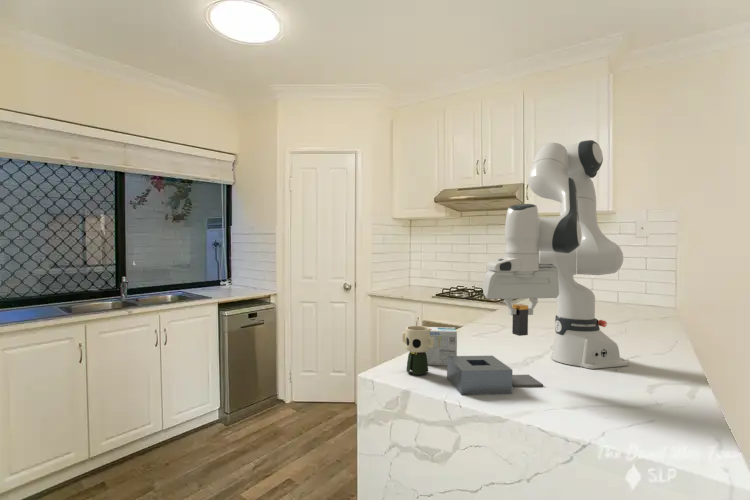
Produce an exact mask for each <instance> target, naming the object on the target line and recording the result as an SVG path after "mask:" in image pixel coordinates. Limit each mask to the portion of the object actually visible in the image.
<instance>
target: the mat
mask: <svg viewBox="0 0 750 500" xmlns="http://www.w3.org/2000/svg"><path fill="white" fill-rule="evenodd" d="M531 387H532V388H534V387H537V388H539V387H540V388H541V387H544V383H542V382H540V381H539V380H537V379H536V378H534V377H533V376H531V375H530V374H512V388H531Z"/></svg>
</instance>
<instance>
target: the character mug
mask: <svg viewBox="0 0 750 500" xmlns="http://www.w3.org/2000/svg"><path fill="white" fill-rule="evenodd" d="M429 327H430V326H425V325H409V326H406V328H405V331H402V337H401V338H402V340H401V341H402V342H403V343H404V346H405V349H406V350H407V351H408V352H409V353H408V355H407V356H408V357H407V361H406V372H407V373H408V374H410V373H411V372H412V375H424V374H426V373H428V372H429V365H428V362H427V355H426V353H425V352H427V351H429V350H430V348H432V349H433V348H434V338H433V337H431V336H430V328H429ZM430 340H431V345H430Z"/></svg>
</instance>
